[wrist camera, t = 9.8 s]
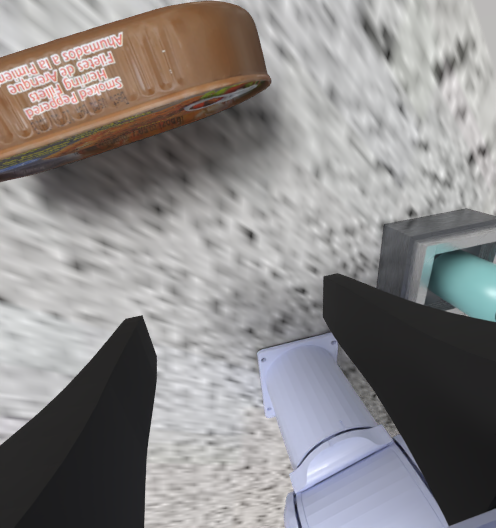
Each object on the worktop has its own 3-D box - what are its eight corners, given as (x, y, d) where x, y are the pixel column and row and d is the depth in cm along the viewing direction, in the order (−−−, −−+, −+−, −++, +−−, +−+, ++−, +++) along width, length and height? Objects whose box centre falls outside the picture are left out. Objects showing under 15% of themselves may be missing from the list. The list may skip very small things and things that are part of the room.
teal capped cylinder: (463, 286, 24) (543, 330, 19) (421, 297, 23) (492, 346, 18) (473, 243, 22) (565, 279, 17) (428, 255, 22) (509, 295, 16)
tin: (11, 183, 16) (-131, 225, 9) (-29, 125, 15) (-239, 119, 7) (250, 103, 17) (303, 81, 10) (235, 41, 16) (284, -39, 8)
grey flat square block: (447, 286, 28) (488, 310, 24) (374, 303, 27) (406, 331, 23) (466, 208, 24) (518, 222, 20) (383, 224, 23) (422, 242, 19)
